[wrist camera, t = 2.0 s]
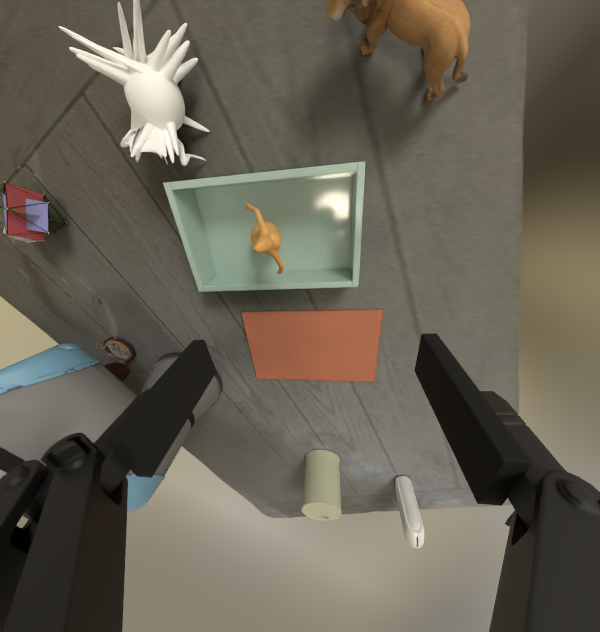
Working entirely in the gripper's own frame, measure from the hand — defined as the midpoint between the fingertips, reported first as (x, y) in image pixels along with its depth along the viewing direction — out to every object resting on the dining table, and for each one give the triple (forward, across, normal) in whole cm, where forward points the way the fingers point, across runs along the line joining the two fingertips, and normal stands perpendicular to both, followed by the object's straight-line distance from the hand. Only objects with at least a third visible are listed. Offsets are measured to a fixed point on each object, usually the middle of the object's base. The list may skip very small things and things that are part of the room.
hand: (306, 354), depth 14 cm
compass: (+22, -45, -16) cm, 53 cm away
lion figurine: (+22, +9, +20) cm, 31 cm away
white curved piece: (+22, +19, -66) cm, 72 cm away
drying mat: (+22, -3, -17) cm, 28 cm away
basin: (+22, -6, +4) cm, 23 cm away
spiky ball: (+22, -17, +19) cm, 34 cm away
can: (+22, -3, -55) cm, 59 cm away
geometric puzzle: (+22, -41, +10) cm, 48 cm away
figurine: (+22, -6, +4) cm, 23 cm away
